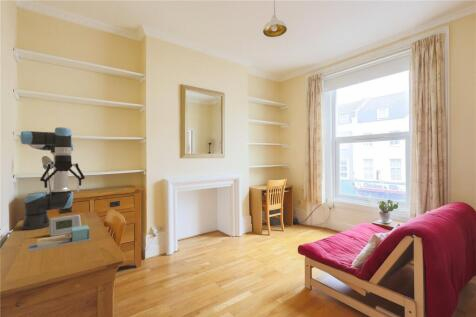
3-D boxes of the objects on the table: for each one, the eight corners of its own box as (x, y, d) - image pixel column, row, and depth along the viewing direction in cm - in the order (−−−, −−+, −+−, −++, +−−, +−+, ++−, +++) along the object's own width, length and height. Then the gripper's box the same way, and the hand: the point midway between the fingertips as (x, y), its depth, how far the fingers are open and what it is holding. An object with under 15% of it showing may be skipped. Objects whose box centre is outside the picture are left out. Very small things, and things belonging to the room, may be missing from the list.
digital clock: (48, 238, 139) (48, 220, 139) (50, 234, 147) (50, 217, 147) (81, 233, 148) (81, 216, 148) (81, 229, 156) (81, 213, 156)
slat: (37, 244, 127) (37, 239, 127) (69, 239, 135) (69, 234, 135) (37, 247, 123) (37, 241, 123) (70, 241, 132) (69, 235, 132)
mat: (29, 245, 127) (29, 244, 127) (88, 235, 144) (88, 234, 144) (27, 252, 117) (27, 251, 117) (90, 240, 134) (90, 239, 134)
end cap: (71, 237, 138) (71, 227, 138) (87, 234, 143) (87, 225, 143) (72, 241, 131) (72, 231, 131) (89, 238, 136) (89, 228, 136)
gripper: (33, 154, 122) (34, 195, 122) (90, 155, 138) (90, 191, 138) (34, 155, 128) (34, 193, 128) (88, 155, 143) (88, 189, 143)
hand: (63, 192), depth 133 cm, fingers open, 13 cm apart
